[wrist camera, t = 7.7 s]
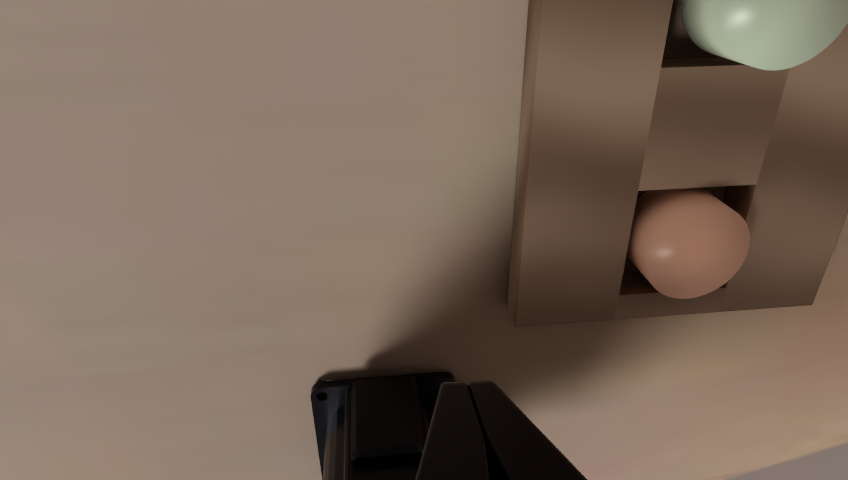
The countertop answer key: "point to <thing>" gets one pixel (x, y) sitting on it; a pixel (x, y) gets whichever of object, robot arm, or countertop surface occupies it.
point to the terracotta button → (686, 241)
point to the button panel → (666, 162)
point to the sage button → (764, 29)
